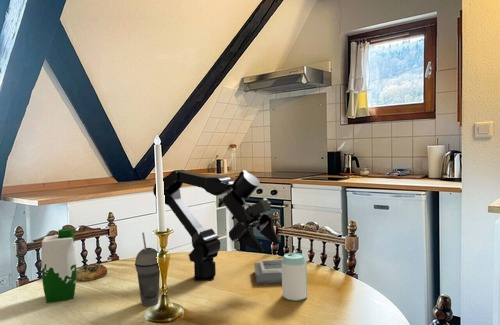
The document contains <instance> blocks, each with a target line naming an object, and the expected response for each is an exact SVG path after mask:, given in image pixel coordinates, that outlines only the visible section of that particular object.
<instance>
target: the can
mask: <svg viewBox="0 0 500 325" xmlns="http://www.w3.org/2000/svg"><path fill="white" fill-rule="evenodd" d="M282 259H283V260H282V283H281V285H282V286H281V289H282V294H281V295H282V297H283V298H284V299H286V300H288V301H291V302H300V301H303V300H304V299H306V298H307V297H308V268H307V267H308V265H307V260H306V258H305V255H304V254H303V253H300V252H288V253H285V254H284V255H283V258H282Z"/></svg>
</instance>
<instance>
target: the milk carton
mask: <svg viewBox="0 0 500 325" xmlns="http://www.w3.org/2000/svg"><path fill="white" fill-rule="evenodd" d="M57 233H58V234H54V235H47V236H44V238H43V239H42V241H41V249H40V250H41V252H40V256H41V258H40V260H41V276H42V277H41V278H42V280H41V281H42V287H43V288H42V289H43V293H44V298H45V303H46V304H51V303H55V302H61V301H66V300H67V301H68V300H72V299H73V300H74V297H75V293H76V291H75V290H76V285H77V280H76V277H77V270H78V269H77V253H76V252H77V251H76V244H75V235H74V228H70V227H68V228H60V229H58V230H57Z"/></svg>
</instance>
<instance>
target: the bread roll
mask: <svg viewBox="0 0 500 325" xmlns="http://www.w3.org/2000/svg"><path fill="white" fill-rule="evenodd" d="M76 270H77V277H76V281H84V282H86V281H87V282H92V281H95V280H98V279H100V278H104V277H106V275H107V273H108V269H107V267H106V266H105V265H104V264H100V263H97V264H96V263H90V264H88V265H87V264H85V265H83V266H82V267H79V268H78V269H76Z"/></svg>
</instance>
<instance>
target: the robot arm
mask: <svg viewBox="0 0 500 325" xmlns="http://www.w3.org/2000/svg"><path fill="white" fill-rule="evenodd" d="M162 179H163V181H164V195H165V205H167V206H168V207H169V208H170V210H171V211H172V212H173V214H174V215H175V217H176V218H177V219H178V220H179V222H180V224H181V225H182V226H183V227H184V229H185V230H186V231H187V233H188V235H189V236H190V237H191V246H192V251H191V252H190V253H189V254H188V258H189V262H192V263H193V264H194V265H193V266H194V268H193V269H194V278H193V281H209V280H211V281H213V280H214V279H215V277H216V271H217V270H216V269H217V268H216V261H214V258H217V257H218V254H219V251H220V250H221V241H220V239H219V238H220V236H218V235H217V234H216V232H215V231H214V229H213V228H208V229H206V228H204V226H203V225H202V224H201V222H199V220H198V219H197V217H196V216H195V215H194V214H193V212H192V211H191V210H190V208H189V207H188V206H187V204H186V203H185V202H184V200H183V199H182V196H181V190H180V189H181V188H182V186H183V184H186V185H189V186H193V187H197V188H202V189H203V190H204V191H205V192H206V193H208V194H210V195H213V196H215V197H216V196H222V195H223V197H221V198H218V203H217V206H218V208H222V207H225V208H226V209H227V210H228V211H229V212H230V215H232V217H231V220H232V221H237V222H236V223H235V225H234V226H233V227H232V228H231V229H230V230H229V232H228V237H229V239H230V240H231V242H236V243H240V244H242V245H244V246H247V247H249V248H251V249H253V250H255V251H257V252H258V253H260V254H263V252H264V248H263V246H262V244H261V243H260V241H259V240H258V239H257V237H256V235H255V234H254V229H256V230H257V231H260V232H259V234H261V235H262V236H263V237H265V238H266V239H268V240H269V241H270V242H271V243H273V244H274V245H276V246H279V244H280V240H279V238H278V236H277V233H276V231H275V227H274V226H275V222H276V218H277V216H276V215H275V214H274V213H273V212H268V211H271V210H272V209H271V208H272V207H271V205H272V202H271V201H269V199H267V198H266V197H264V198H262V199H259V200H258V202H256V203H254V204H253V203H247V201H245V199H249V198H250V197H251V195H252V194H254V192H255V191H256V189H257V188H258V187H259V186H260V180H259V178H258V177H257V176H255V175H253V174H252V173H250V172H248V171H247V170H245V169H244V170H241V171H240V173H239V174H238V176H237V177H236V178H235V180H234V179H232V178H231V177H230V176H228V175H214V176H213V175H206V174H201V173H197V172H192V171H187V170H185V169H174V170H171V172H170V173H169V174H168V175H166V176H165V177H163V178H162ZM152 189H153V190H152V191H153V192H152V193H153V195H154V196H155V197H156V183H155V184H154V186H153V188H152ZM265 212H266V213H265Z"/></svg>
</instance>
